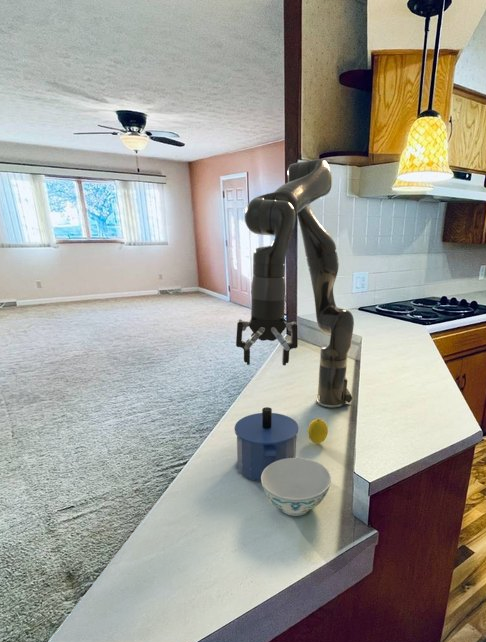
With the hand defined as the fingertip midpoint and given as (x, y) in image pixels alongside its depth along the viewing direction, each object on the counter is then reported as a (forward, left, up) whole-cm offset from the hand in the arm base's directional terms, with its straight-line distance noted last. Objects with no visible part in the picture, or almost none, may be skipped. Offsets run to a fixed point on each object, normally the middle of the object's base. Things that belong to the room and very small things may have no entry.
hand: (266, 364), depth 98 cm
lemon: (-15, -6, -27) cm, 31 cm away
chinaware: (-5, +20, -27) cm, 34 cm away
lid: (0, +3, -16) cm, 16 cm away
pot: (0, +3, -26) cm, 27 cm away
